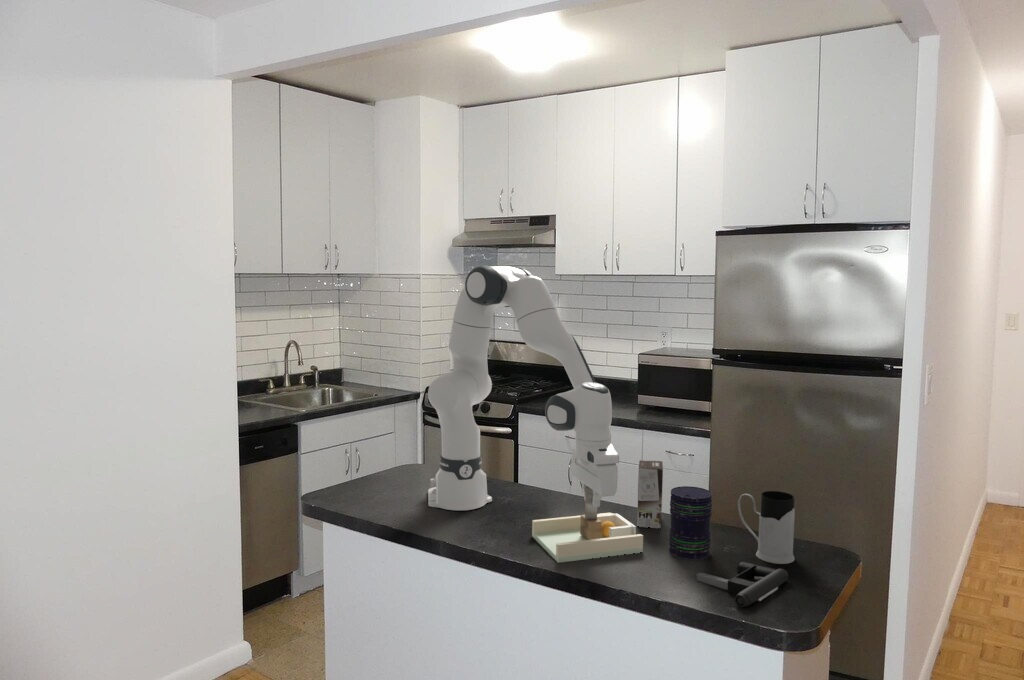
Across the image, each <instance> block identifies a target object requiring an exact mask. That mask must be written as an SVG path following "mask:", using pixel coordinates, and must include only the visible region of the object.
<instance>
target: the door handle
mask: <svg viewBox="0 0 1024 680" xmlns="http://www.w3.org/2000/svg"><path fill="white" fill-rule="evenodd" d="M736 569H737V572H738V573H739V574H737V575H735V576H734V577H731V578H728V579H726V578H725V577H724V578H723V577H719V576H717V575H712V574H709V573H704V572H702V571H701V572H699V573H696V581H698V582H701V583H704V584H708V585H710V586H714V587H717V588H719V589H723V590H725V591H727V593H731V594H733V595H735V597H734V603H735V604H736V606H737V607H739V608H746V607H749V606H750V605H752V604H753V603H755V602H756V601H758V602H761V601H762V600H764V599H766V598H767V597H769V595H771V594H773V593H775V592H776V591H777V590H778V589H779V587H780V586H781V585H783V584H784V583H788V579H789V573H788V572H787V570H785V569H784V568H772V567H768V566H763V565H760V564H755V563H752V562H751V563H750V562H747V561H740V562H739V563H738V564H737V565H736ZM751 579H754V581H752V580H751ZM750 580H751V581H750Z"/></svg>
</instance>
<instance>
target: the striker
mask: <svg viewBox="0 0 1024 680" xmlns="http://www.w3.org/2000/svg"><path fill="white" fill-rule="evenodd" d="M593 495H594V494H593V490H592V489H591V488H589V487H588V486H586V490H585V500H584V514H580V515H581V524H580V535H582V536H583V537H584V538H585V539H586V540H591V539H600V538H601V527H602V522H601V521H600V520H599V519H598V518H597V514H598V507H593V506H592V505H591V499H593Z"/></svg>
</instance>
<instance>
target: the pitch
mask: <svg viewBox="0 0 1024 680" xmlns="http://www.w3.org/2000/svg"><path fill="white" fill-rule="evenodd" d="M581 515H582V514H580V515H573V516H572V515H571V516H561V517H551V518H541V519H532V520H531V524H532V527H531V537H532V538H533V539H534V540H535V541H536V543H538V544H539V545H540V546H541V547H542V548H543V549H544V550H545V551H546V552H547V553H548V554H549V556H550V557H552V558H553V559H554V560H555V561H556V562H557V563H558V564H559V563H566V562H574V561H583V560H590V559H592V558H593V559H600V557H601V558H608V556H610V557H616V556H617V555H618V556H625V555H624V554H626V555H633V553H635V554H641V553H640V552H643V550H644V535H643V534H641V533H639V534H638V533H637V525H634V524H633V523H632V522H631V521H629V520H627V519H626V518H625V517H623V516H622V515H621V514H619V513H612V512H603V513H601V512H600V513H597V518H598V519H599V520H600V521H601V522H602V523H603V522H606V521H610V522H612V523H614V525H615V526H616V527H609V538H607V537H604V536H603V535H602V534H601V538H600V539H591V540H586V539H585V538H584V537H583V536H582V535H580V524H581Z"/></svg>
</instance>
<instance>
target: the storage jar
mask: <svg viewBox="0 0 1024 680" xmlns="http://www.w3.org/2000/svg"><path fill="white" fill-rule="evenodd" d="M712 497H713V493H712V491H711V490H708V489H707V488H706V489H705V488H702V487H698V486H691V485H690V486H688V485H687V486H686V485H682V486H676V487H673V488H672V489H671V490H670V500H669V507H670V508H669V513H670V528H669V535H668V541H669V547H668V552H669V554H671V555H672V554H673V555H672V556H674V557H676V558H678V557H679V558H678V559H682V558H683V559H682V560H688V559H689V561H700V560H699V559H701V560H705V559H708V558H709V557H710V556H711V555H710V552H711V551H710V549H711V540H712V539H711V531H710V529H711V528H710V527H711V526H710V525H711V517H712V509H713V503H712V499H713V498H712ZM708 556H709V557H708ZM704 558H705V559H704Z"/></svg>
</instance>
